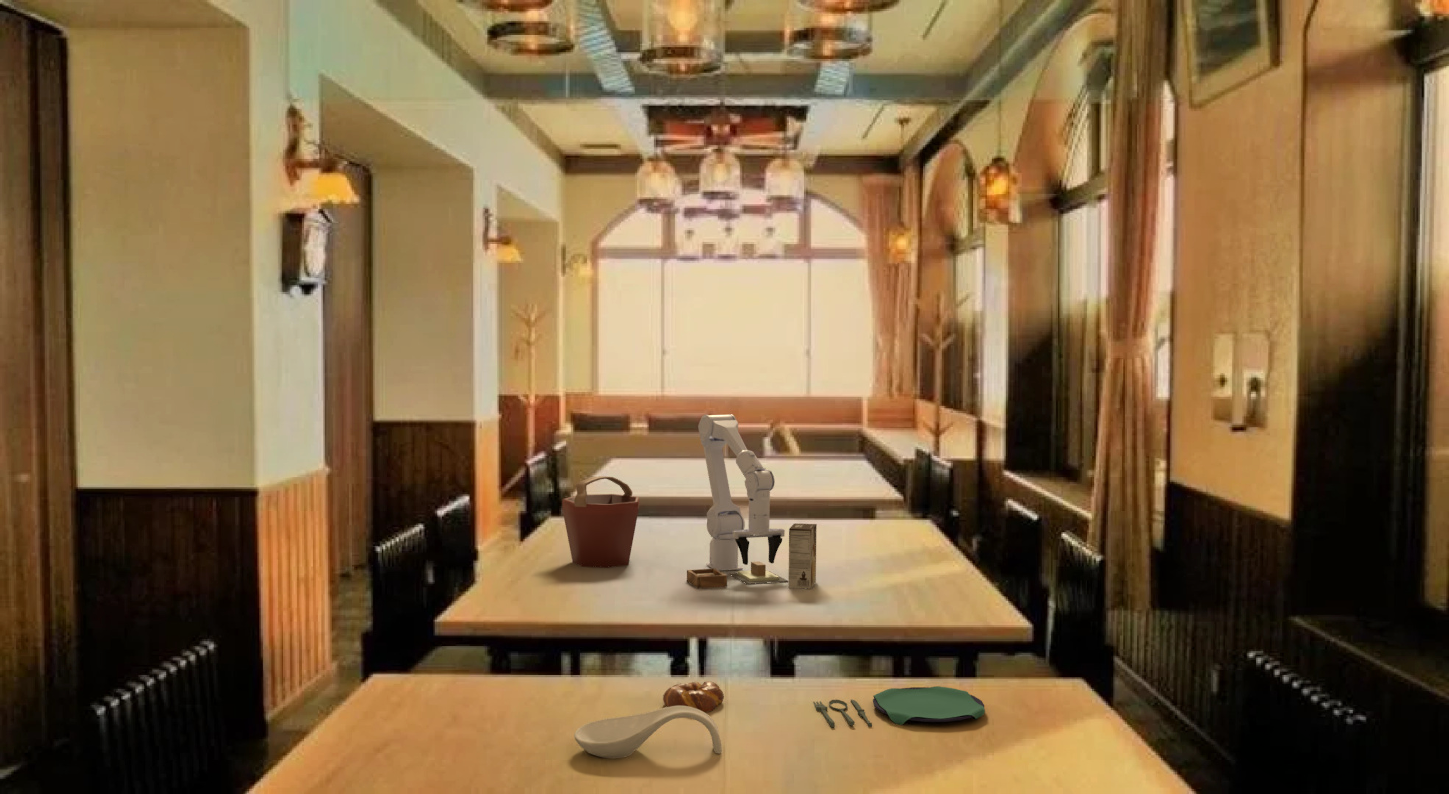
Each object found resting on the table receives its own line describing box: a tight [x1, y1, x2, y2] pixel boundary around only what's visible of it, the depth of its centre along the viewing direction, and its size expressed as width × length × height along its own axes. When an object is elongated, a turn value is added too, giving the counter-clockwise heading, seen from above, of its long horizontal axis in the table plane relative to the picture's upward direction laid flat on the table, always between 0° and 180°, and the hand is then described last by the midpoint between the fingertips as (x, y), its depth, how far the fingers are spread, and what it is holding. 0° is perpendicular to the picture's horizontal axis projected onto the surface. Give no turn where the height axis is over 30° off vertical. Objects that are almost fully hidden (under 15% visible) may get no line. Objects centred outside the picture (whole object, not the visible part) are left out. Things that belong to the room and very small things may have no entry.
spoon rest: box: [573, 706, 723, 759], centre depth 197 cm, size 24×12×7 cm, turn 95°
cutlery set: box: [812, 685, 986, 728], centre depth 219 cm, size 20×30×2 cm, turn 97°
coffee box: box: [788, 523, 817, 590], centre depth 327 cm, size 9×6×16 cm
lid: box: [736, 561, 779, 582], centre depth 336 cm, size 10×8×4 cm
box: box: [686, 568, 728, 589], centre depth 328 cm, size 10×8×3 cm
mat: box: [728, 570, 789, 585], centre depth 336 cm, size 14×12×1 cm
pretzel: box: [662, 681, 725, 713], centre depth 222 cm, size 12×11×4 cm
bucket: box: [561, 475, 640, 569], centre depth 356 cm, size 24×22×25 cm
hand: (758, 563), depth 336 cm, fingers open, 7 cm apart
